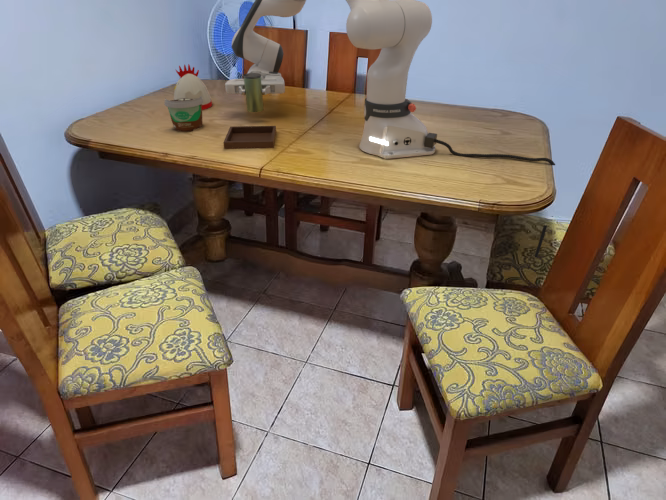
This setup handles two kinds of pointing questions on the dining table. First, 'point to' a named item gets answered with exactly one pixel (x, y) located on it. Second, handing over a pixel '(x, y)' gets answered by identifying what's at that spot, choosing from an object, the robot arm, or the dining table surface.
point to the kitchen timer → (191, 87)
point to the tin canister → (253, 92)
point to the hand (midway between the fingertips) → (253, 92)
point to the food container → (185, 113)
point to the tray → (250, 137)
